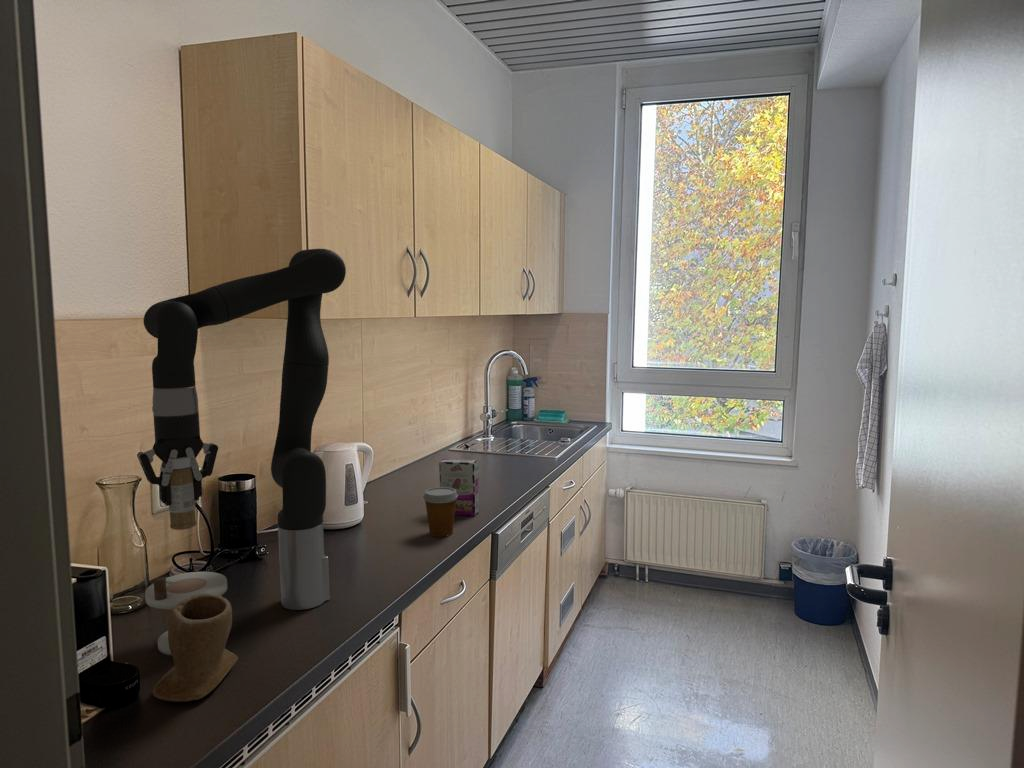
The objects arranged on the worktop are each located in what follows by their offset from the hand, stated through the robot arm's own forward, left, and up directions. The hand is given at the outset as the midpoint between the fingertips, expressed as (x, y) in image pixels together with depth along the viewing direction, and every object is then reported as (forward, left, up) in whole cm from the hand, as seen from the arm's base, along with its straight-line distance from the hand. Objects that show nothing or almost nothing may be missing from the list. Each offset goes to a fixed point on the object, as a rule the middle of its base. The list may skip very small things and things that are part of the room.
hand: (181, 501), depth 131 cm
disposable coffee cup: (-72, -21, -27) cm, 80 cm away
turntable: (0, 0, -18) cm, 18 cm away
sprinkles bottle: (0, 0, -5) cm, 5 cm away
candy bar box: (-87, -33, -27) cm, 97 cm away
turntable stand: (0, 0, -27) cm, 27 cm away
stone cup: (+3, +17, -27) cm, 32 cm away
